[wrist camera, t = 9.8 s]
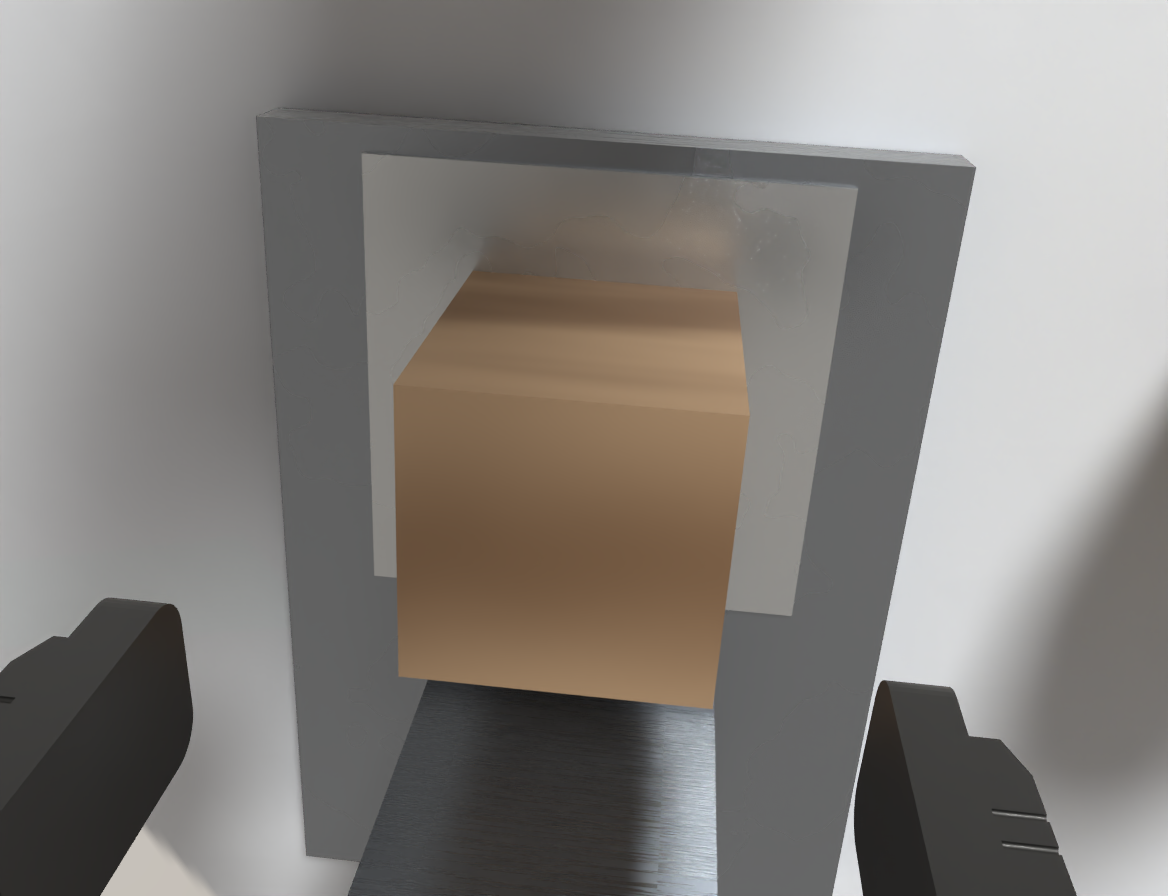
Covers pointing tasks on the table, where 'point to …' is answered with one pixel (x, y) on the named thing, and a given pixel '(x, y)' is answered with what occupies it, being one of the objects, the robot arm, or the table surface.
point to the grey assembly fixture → (764, 520)
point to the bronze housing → (570, 488)
